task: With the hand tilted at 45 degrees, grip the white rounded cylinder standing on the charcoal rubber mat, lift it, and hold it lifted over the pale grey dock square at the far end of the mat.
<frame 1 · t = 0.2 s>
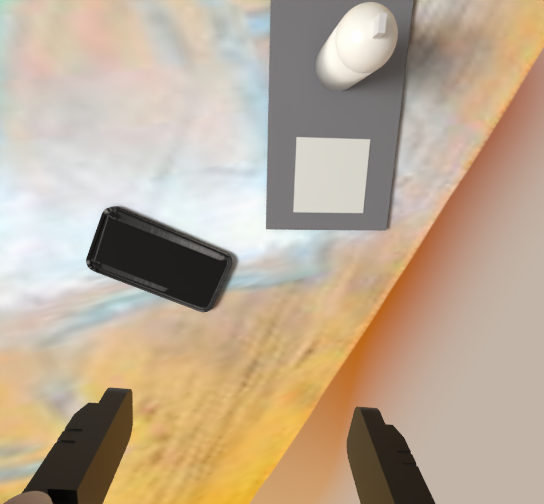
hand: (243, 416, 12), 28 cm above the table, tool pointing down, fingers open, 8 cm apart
white rounded cylinder: (338, 65, 34), point 1 cm above the table, touching mat
phone: (162, 259, 40), on the table
mat: (333, 118, 36), on the table
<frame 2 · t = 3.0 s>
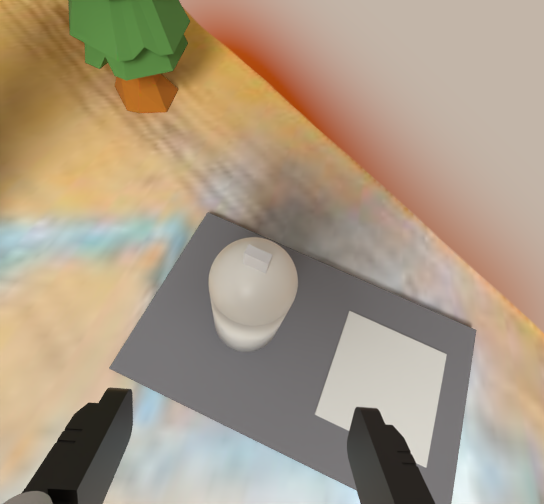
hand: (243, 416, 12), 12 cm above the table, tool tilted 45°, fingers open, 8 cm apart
white rounded cylinder: (246, 319, 26), point 1 cm above the table, touching mat
decorative tree: (150, 98, 35), on the table
mat: (306, 349, 26), on the table
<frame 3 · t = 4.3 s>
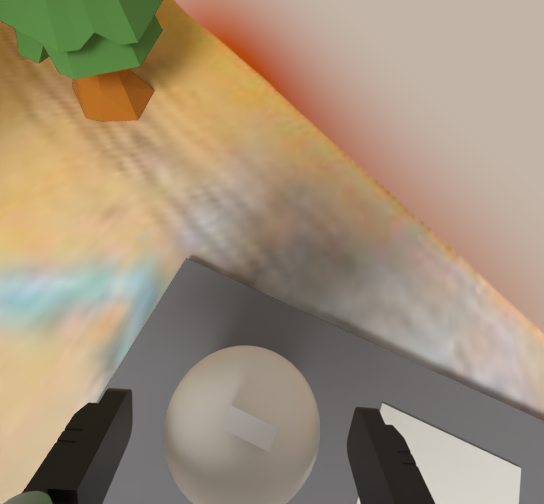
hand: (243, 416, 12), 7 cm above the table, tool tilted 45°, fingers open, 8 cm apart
white rounded cylinder: (237, 420, 18), point 1 cm above the table, touching mat
decorative tree: (118, 101, 28), on the table
mat: (322, 462, 18), on the table
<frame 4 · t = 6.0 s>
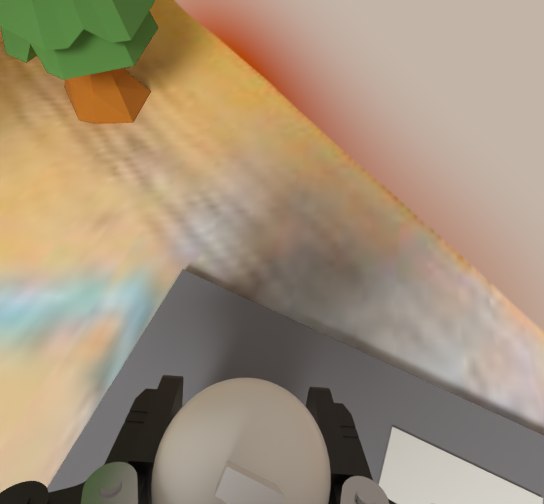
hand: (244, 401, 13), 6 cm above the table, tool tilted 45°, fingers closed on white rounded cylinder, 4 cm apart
white rounded cylinder: (236, 446, 17), point 1 cm above the table, touching gripper, mat
decorative tree: (112, 103, 26), on the table
mat: (328, 491, 17), on the table
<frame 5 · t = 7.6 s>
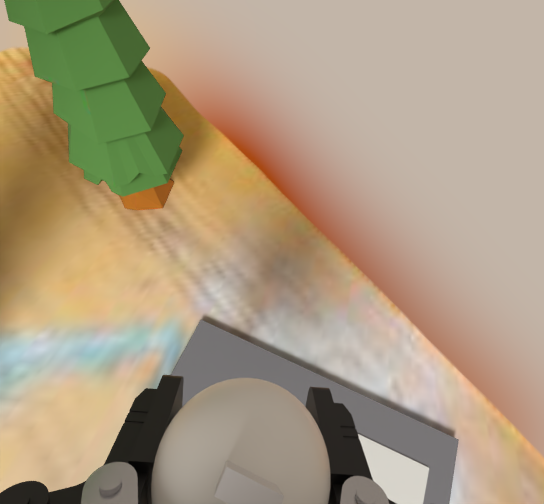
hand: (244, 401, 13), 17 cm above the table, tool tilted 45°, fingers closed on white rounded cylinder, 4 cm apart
white rounded cylinder: (237, 446, 17), point 12 cm above the table, touching gripper
decorative tree: (147, 192, 37), on the table
mat: (294, 463, 27), on the table
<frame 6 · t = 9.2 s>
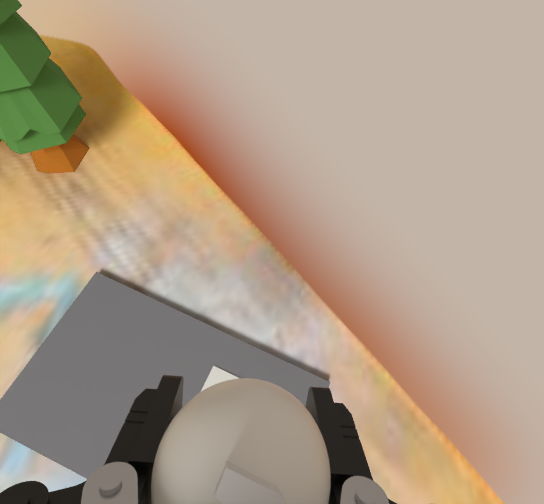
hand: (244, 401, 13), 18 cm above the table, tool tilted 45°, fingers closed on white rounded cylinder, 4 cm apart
white rounded cylinder: (237, 447, 17), point 13 cm above the table, touching gripper
decorative tree: (61, 157, 38), on the table
mat: (170, 401, 29), on the table
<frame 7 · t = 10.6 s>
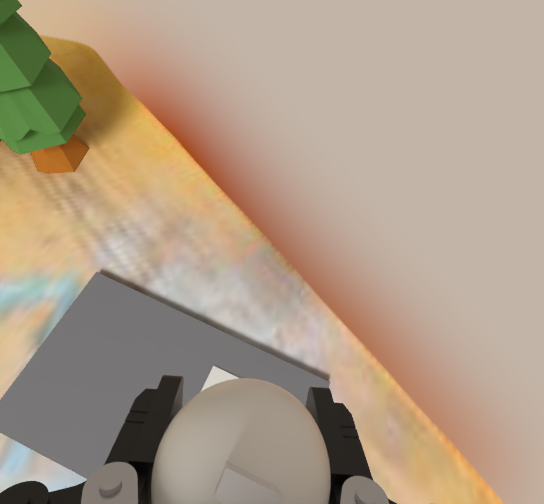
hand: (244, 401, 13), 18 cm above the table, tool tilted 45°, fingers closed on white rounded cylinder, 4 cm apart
white rounded cylinder: (237, 447, 17), point 13 cm above the table, touching gripper
decorative tree: (61, 157, 38), on the table
mat: (170, 401, 29), on the table
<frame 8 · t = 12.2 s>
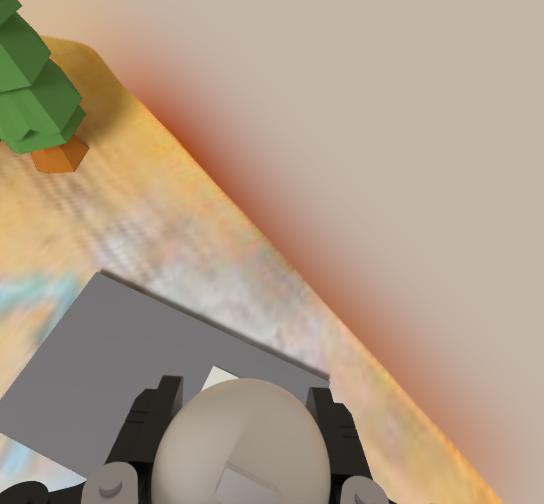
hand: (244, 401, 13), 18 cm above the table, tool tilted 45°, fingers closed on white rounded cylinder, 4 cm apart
white rounded cylinder: (237, 447, 17), point 13 cm above the table, touching gripper
decorative tree: (61, 157, 38), on the table
mat: (170, 401, 29), on the table
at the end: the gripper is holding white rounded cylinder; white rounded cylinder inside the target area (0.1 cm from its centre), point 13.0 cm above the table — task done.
